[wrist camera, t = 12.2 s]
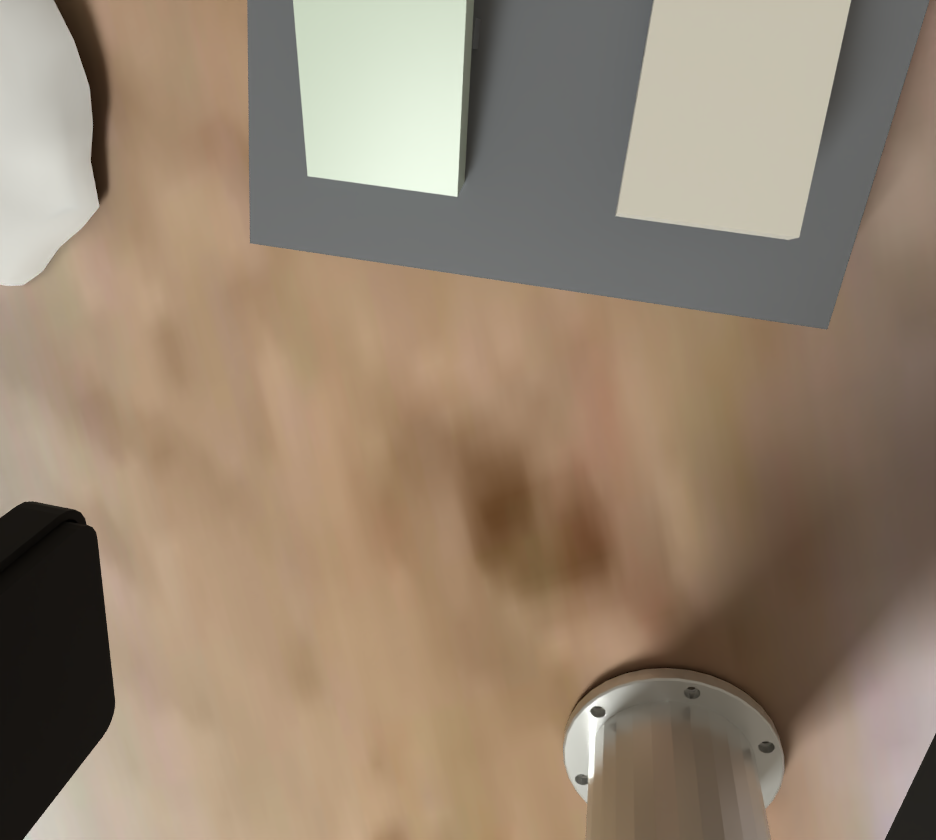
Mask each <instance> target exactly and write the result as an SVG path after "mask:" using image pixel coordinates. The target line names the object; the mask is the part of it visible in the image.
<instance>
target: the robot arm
mask: <svg viewBox="0 0 936 840" xmlns="http://www.w3.org/2000/svg"><path fill="white" fill-rule="evenodd" d="M114 709H115V696H114V687H113V677H112V668H111V659H110V650H109V641H108V632H107V623H106V613H105V604H104V595H103V586H102V577H101V568H100V558H99V549H98V540H97V535H96V532H95V530H94V529H93V527H90V526H88V525H86V521H85V518H84V517H83V515H82V514H81V513H80V512H78V511H76V510H73V509H68V508H63V507H58V506H53V505H48V504H43V503H38V502H24V503H22V504H20V505H18V506H16V507H15V508H13V509H12V510H11V511H9V512H8V513H6V514H5V515H4V516H2V517H1V518H0V840H23V839H24V837H25V836H26V835H27V834H28V832H29V831H30V830H31V828H32V827H33V826H34V825H35V823H36V822H37V821H38V819H39V818H40V817H41V816H42V814H43V813H44V812H45V810H46V809H47V808H48V806H49V805H50V804H51V803H52V801H53V800H54V799H55V797H56V796H57V795H58V794H59V792H60V791H61V790H62V788H63V787H64V786H65V785H66V783H67V782H68V781H69V779H70V778H71V777H72V776H73V774H74V773H75V772H76V770H77V769H78V768H79V766H80V765H81V764H82V763H83V761H84V760H85V759H86V757H87V756H88V755H89V754H90V752H91V751H92V750H93V748H94V747H95V746H96V745H97V743H98V742H99V741H100V739H101V738H102V737H103V735H104V734H105V732H106V731H107V729H108V727H109V725H110V723H111V720H112V717H113V714H114ZM563 755H564V764H565V768H566V771H567V774H568V777H569V779H570V781H571V783H572V784H573V786H574V788H575V790H576V791H577V793H578V794H579V795H580V796H581V797H582V798H583V800H584V801H585V802H586V803H587V816H586V838H585V840H771V836H770V831H769V826H768V821H767V816H766V811H765V809H766V808H767V807H768V806H769V805H770V804H771V802H772V801H773V800H774V798H775V796H776V794H777V793H778V791H779V789H780V787H781V784H782V779H783V775H784V754H783V750H782V745H781V741H780V737H779V735H778V732H777V730H776V728H775V726H774V723H773V721H772V720H771V719H770V717H769V716H768V715H767V713H766V712H765V711H764V709H763V708H762V707H761V706H760V705H759V704H758V703H757V702H756V701H755V700H753V699H752V698H751V697H750V696H749V695H748V694H747V693H745V692H743V691H742V690H740V689H738V688H737V687H735V686H733V685H732V684H730V683H728V682H726V681H723V680H721V679H718V678H716V677H713V676H711V675H707V674H703V673H699V672H695V671H691V670H684V669H672V668H658V669H644V670H639V671H635V672H630V673H625V674H623V675H620V676H617V677H615V678H612V679H610V680H607V681H605V682H604V683H602V684H601V685H599V686H597V687H596V688H594V689H593V690H591V691H590V692H589V693H588V694H587V695H586V696H585V697H584V698H583V699H582V700H581V701H580V702H579V703H578V704H577V706H576V707H575V709H574V710H573V712H572V713H571V715H570V717H569V720H568V723H567V726H566V728H565V736H564V744H563ZM885 840H936V734H935V736H934V738H933V740H932V742H931V745H930V747H929V749H928V751H927V753H926V755H925V757H924V759H923V761H922V763H921V765H920V767H919V770H918V772H917V774H916V776H915V778H914V780H913V782H912V784H911V786H910V788H909V790H908V792H907V795H906V797H905V799H904V801H903V803H902V805H901V807H900V809H899V811H898V813H897V815H896V817H895V820H894V822H893V824H892V826H891V828H890V830H889V832H888V834H887V836H886V838H885Z"/></svg>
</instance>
